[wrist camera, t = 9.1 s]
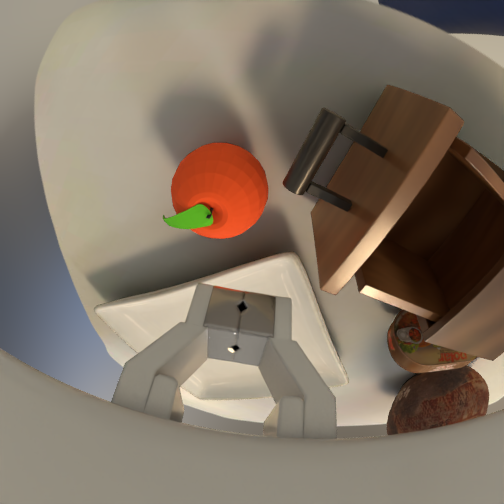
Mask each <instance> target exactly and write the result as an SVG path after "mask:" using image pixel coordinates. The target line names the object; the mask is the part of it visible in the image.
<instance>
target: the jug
mask: <svg viewBox="0 0 504 504" xmlns="http://www.w3.org/2000/svg"><path fill="white" fill-rule="evenodd" d="M488 402H489V391H488V386H487V384H486V382H485V380H484V379H483V378H482V376H481V375H480V374H479V373H478V372H476V371H475V370H474V369H472V368H471V367H469V366H464V367H462V368H457V369H450V370H442V371H434V372H425V373H420V374H418V375H416V376H414V377H412V378H411V379H409V380H408V381H407V382H406V383H405V384H404V385H403V386H402V388H401V390H400V392H399V393H398V395H397V397H396V398H395V400H394V402H393V404H392V407H391V410H390V412H389V415H388V421H387V434H388V435H394V434H401V433H409V432H415V431H421V430H427V429H432V428H437V427H442V426H446V425H451V424H455V423H459V422H463V421H467V420H470V419H474V418H477V417H481V416H484V415H486V413H487V408H488Z"/></svg>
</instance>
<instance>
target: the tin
mask: <svg viewBox="0 0 504 504" xmlns="http://www.w3.org/2000/svg"><path fill="white" fill-rule="evenodd" d="M387 343H388V348H389V351H390V353H391V356H392V358H393V359H394V361H395V362H396V363H397V364H398V365H399V366H400V367H402V368H403V369H405V370H407V371H409V372H413V373H425V372H434V371H442V370H450V369H457V368H462V367H464V366H466V365H468V364H469V363H470V362H471V361H472V360H474V359H476V358H477V356H473V355H470V354H466V353H462V352H459V351H455V350H452V349H448V348H445V347H441V346H438V345H434V344H431V343H427V342H425V341H424V338H423V334H422V331H421V328H420V325H419V322H418V319H417V316H416V314H413V313H411V312H408V311H406V310H401V311H400V312H399V313H398V314H397V316H396V318H395V320H394V321H393V323H392V324H391V326H390V328H389V330H388V334H387Z"/></svg>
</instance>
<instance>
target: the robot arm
mask: <svg viewBox="0 0 504 504" xmlns="http://www.w3.org/2000/svg"><path fill="white" fill-rule="evenodd" d="M207 358H210V359H217V360H223V361H230V362H236V363H242V364H247V365H253V366H258V368H259V370H260V373H261V375H262V377H263V379H264V381H265V383H266V385H267V387H268V389H269V391H270V393H271V395H272V397H273V399H274V401H275V403H276V406H275V407H274V409H273V410H272V411H271V413H270V414H269V416H268V417H267V419H266V420H265V421H264V427H263V436H260V435H250V434H242V433H235V432H228V431H222V430H216V429H210V428H205V427H200V426H194V425H190V424H185V423H182V418H183V414H184V406H183V402H182V397H181V393H180V388H179V387H180V386H181V385H182V384H183V383H184V382H185V381H186V380H187V379H188V378H189V377H190V376H191V375H192V374H193V373H194V372H195V371H196V370H197V369H198V368H199V367H200V366H201V365H202V364H203V363H204V362H205V361H206V360H207ZM0 504H504V409H502V410H500V411H496V412H494V413H491V414H487V415H484V416H481V417H477V418H474V419H470V420H467V421H463V422H459V423H455V424H451V425H446V426H442V427H437V428H432V429H427V430H421V431H415V432H409V433H401V434H394V435H385V436H374V437H361V438H339V439H337V424H336V398H335V396H334V395H333V393H332V392H331V390H330V389H329V388H328V386H327V385H326V383H325V382H324V380H323V379H322V378H321V376H320V375H319V373H318V372H317V370H316V369H315V367H314V366H313V365H312V363H311V362H310V360H309V359H308V357H307V356H306V354H305V353H304V351H303V350H302V349H301V347H300V346H299V344H298V343H297V341H294V340H292V300H291V298H288V297H281V296H275V295H268V294H262V293H255V292H248V291H240V290H235V289H230V288H225V287H220V286H215V285H209V284H204V283H198V285H197V286H196V289H195V292H194V295H193V298H192V301H191V305H190V308H189V311H188V314H187V317H186V320H185V322H179V323H178V324H177V325H175V326H174V327H173V328H171V329H170V330H169V331H167V332H166V333H165V334H163V335H162V336H161V337H159V338H158V339H157V340H155V341H154V342H153V343H151V344H150V345H149V346H147V347H146V348H145V349H143V350H142V351H141V352H139V353H138V354H137V355H135V356H134V357H133V358H131V359H130V360H129V361H127V362H126V363H125V365H124V368H123V371H122V373H121V376H120V379H119V381H118V384H117V387H116V390H115V392H114V395H113V398H112V401H111V402H109V401H107V400H104V399H101V398H98V397H96V396H93V395H91V394H88V393H86V392H83V391H81V390H79V389H76V388H74V387H72V386H70V385H67V384H65V383H63V382H61V381H59V380H57V379H54V378H52V377H50V376H48V375H46V374H44V373H42V372H40V371H39V370H37V369H35V368H33V367H31V366H29V365H27V364H26V363H24V362H22V361H20V360H19V359H17V358H15V357H13V356H12V355H10V354H8V353H7V352H5V351H4V350H2V349H0Z"/></svg>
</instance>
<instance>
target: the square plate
mask: <svg viewBox="0 0 504 504" xmlns="http://www.w3.org/2000/svg"><path fill="white" fill-rule="evenodd" d="M198 283H204V284H209V285H215V286H220V287H225V288H230V289H235V290H240V291H248V292H255V293H262V294H268V295H275V296H281V297H288V298H291V300H292V340H294V341H297V343H298V344H299V346H300V347H301V349H302V350H303V351H304V353H305V354H306V356H307V357H308V359H309V360H310V362H311V363H312V365H313V366H314V367H315V369H316V370H317V372H318V373H319V375H320V376H321V378H322V379H323V380H324V382H325V383H326V385H327V386H328V388H333V387H338V386H342V385H346V384H348V383H349V378H348V375H347V373H346V371H345V369H344V367H343V365H342V363H341V361H340V358H339V356H338V354H337V352H336V350H335V347H334V345H333V343H332V340H331V338H330V335H329V333H328V330H327V327H326V325H325V322H324V319H323V317H322V314H321V311H320V308H319V305H318V302H317V300H316V297H315V294H314V291H313V288H312V286H311V283H310V281H309V278H308V275H307V273H306V271H305V268H304V266H303V264H302V262H301V260H300V258H299V256H298V255H297V254H296V253H295V252H284V253H280V254H276V255H272V256H269V257H265V258H262V259H259V260H256V261H253V262H250V263H246V264H243V265H240V266H236V267H233V268H230V269H227V270H224V271H221V272H218V273H215V274H212V275H209V276H206V277H203V278H199V279H196V280H193V281H190V282H186V283H183V284H180V285H176V286H173V287H169V288H165V289H161V290H157V291H153V292H149V293H145V294H140V295H135V296H130V297H126V298H122V299H119V300H115V301H112V302H108V303H104V304H100V305H97V306H96V307H95V308H94V312H95V313H96V314H97V315H98V316H99V317H100V318H101V319H102V320H103V321H104V322H105V323H106V324H107V325H108V326H109V327H110V328H111V329H112V330H113V331H114V332H115V333H116V334H117V335H118V336H119V337H120V338H121V339H122V340H123V341H124V342H125V343H127V344H128V345H129V346H130V347H131V348H132V349H133V350H134V351H135V352H137V353H139V352H141V351H142V350H143V349H145V348H146V347H147V346H149V345H150V344H151V343H153V342H154V341H155V340H157V339H158V338H159V337H161V336H162V335H163V334H165V333H166V332H167V331H169V330H170V329H171V328H173V327H174V326H175V325H177V324H178V323H179V322H185V320H186V317H187V314H188V311H189V308H190V305H191V301H192V298H193V295H194V292H195V289H196V286H197V285H198ZM180 387H182V388H183V389H185V390H186V391H188V392H189V393H190V394H192V395H193V396H195V397H196V398H198V399H202V400H240V399H258V398H270V397H272V395H271V393H270V391H269V389H268V387H267V385H266V383H265V381H264V379H263V377H262V375H261V373H260V370H259V368H258V366H253V365H247V364H242V363H236V362H230V361H223V360H217V359H210V358H207V360H206V361H205V362H204V363H203V364H202V365H201V366H200V367H199V368H198V369H197V370H196V371H195V372H194V373H193V374H192V375H191V376H190V377H189V378H188V379H187V380H186V381H185V382H184V383H183V384H182V385H181V386H180Z"/></svg>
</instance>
